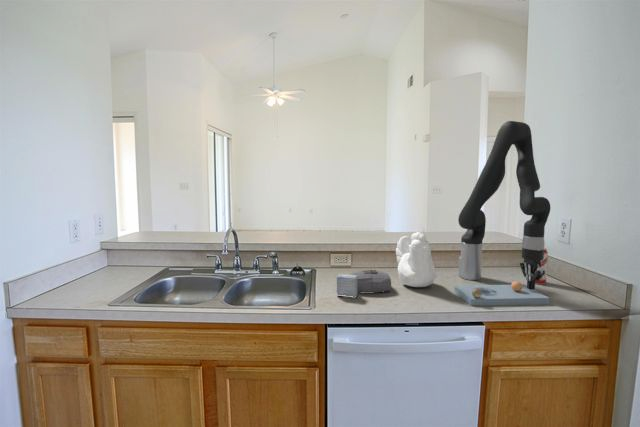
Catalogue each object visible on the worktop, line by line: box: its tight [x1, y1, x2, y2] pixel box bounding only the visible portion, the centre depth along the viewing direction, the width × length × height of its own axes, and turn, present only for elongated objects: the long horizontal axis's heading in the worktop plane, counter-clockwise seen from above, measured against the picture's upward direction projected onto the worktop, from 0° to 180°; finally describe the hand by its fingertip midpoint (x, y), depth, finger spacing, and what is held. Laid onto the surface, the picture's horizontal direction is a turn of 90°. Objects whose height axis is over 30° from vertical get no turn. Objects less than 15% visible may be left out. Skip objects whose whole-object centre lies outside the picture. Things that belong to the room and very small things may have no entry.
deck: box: [453, 283, 550, 306], centre depth 138 cm, size 30×16×2 cm, turn 90°
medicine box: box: [336, 273, 358, 297], centre depth 142 cm, size 8×4×9 cm, turn 71°
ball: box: [510, 280, 522, 291], centre depth 138 cm, size 4×4×4 cm
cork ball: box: [472, 289, 482, 298], centre depth 131 cm, size 4×4×4 cm
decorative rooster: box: [395, 231, 438, 288], centre depth 157 cm, size 25×16×25 cm, turn 6°
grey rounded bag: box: [349, 269, 392, 293], centre depth 151 cm, size 15×8×20 cm
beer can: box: [535, 247, 549, 285], centre depth 155 cm, size 6×6×16 cm
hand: (530, 289), depth 138 cm, fingers closed
